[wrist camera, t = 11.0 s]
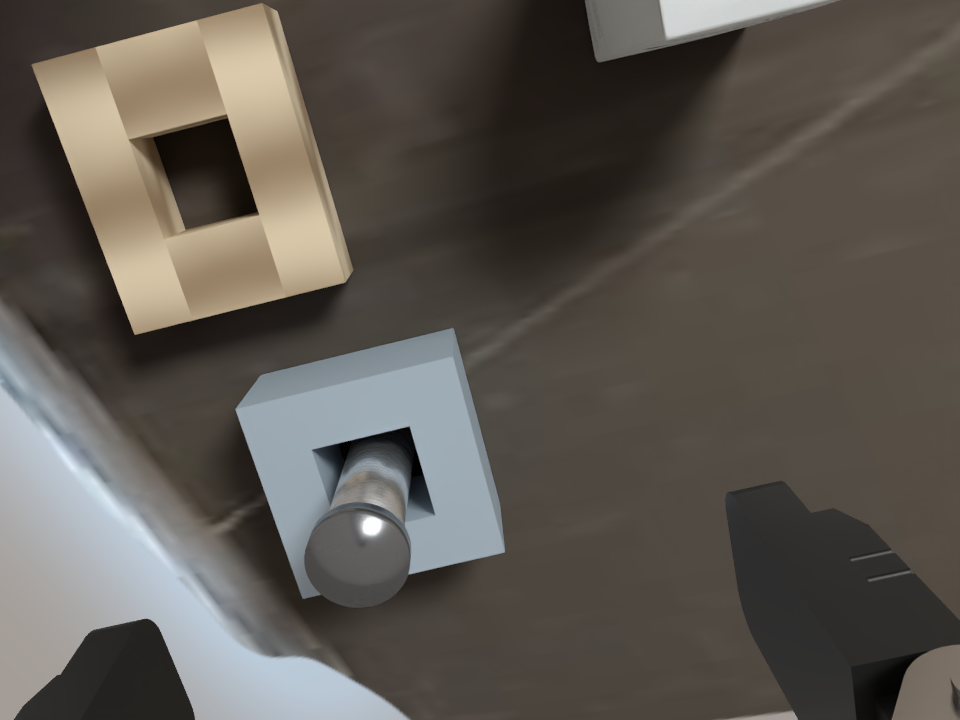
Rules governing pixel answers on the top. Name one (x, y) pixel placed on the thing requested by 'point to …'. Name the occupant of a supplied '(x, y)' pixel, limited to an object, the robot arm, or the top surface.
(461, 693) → the top surface
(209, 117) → the mount
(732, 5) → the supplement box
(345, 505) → the pin
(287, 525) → the socket
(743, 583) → the robot arm
